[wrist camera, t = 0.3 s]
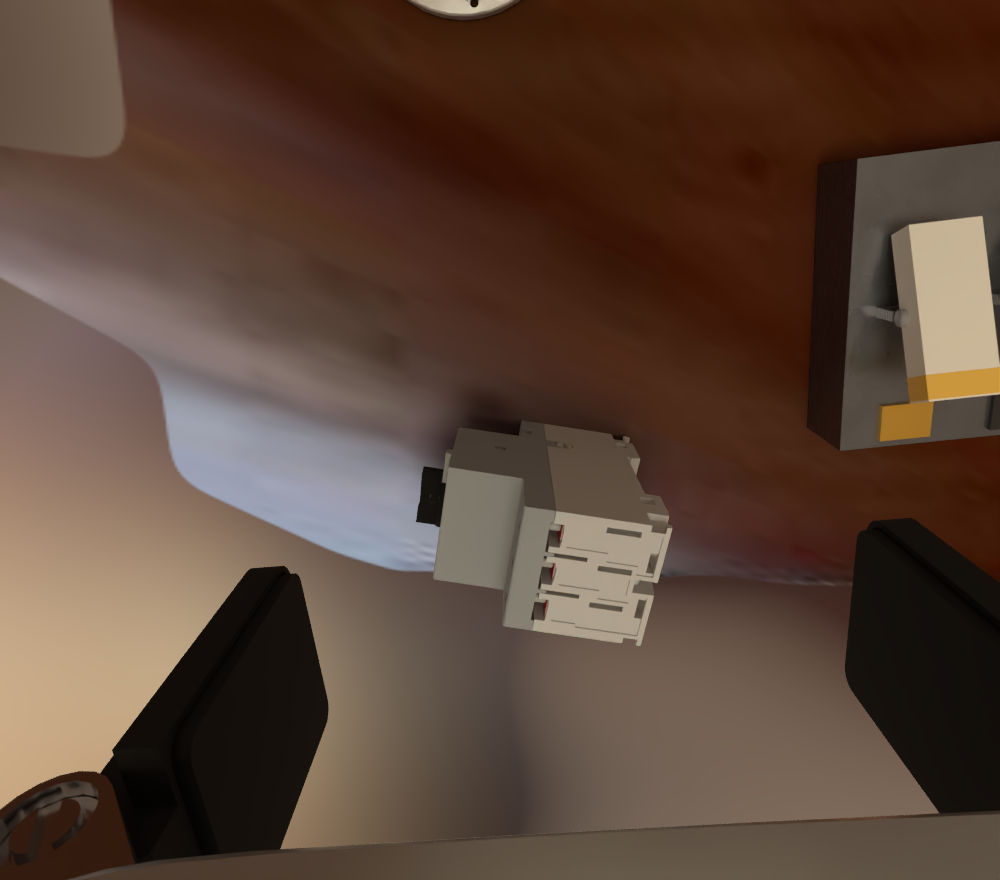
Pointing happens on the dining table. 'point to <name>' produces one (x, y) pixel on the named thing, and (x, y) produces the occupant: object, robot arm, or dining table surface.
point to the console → (889, 293)
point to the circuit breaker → (550, 528)
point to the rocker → (946, 310)
